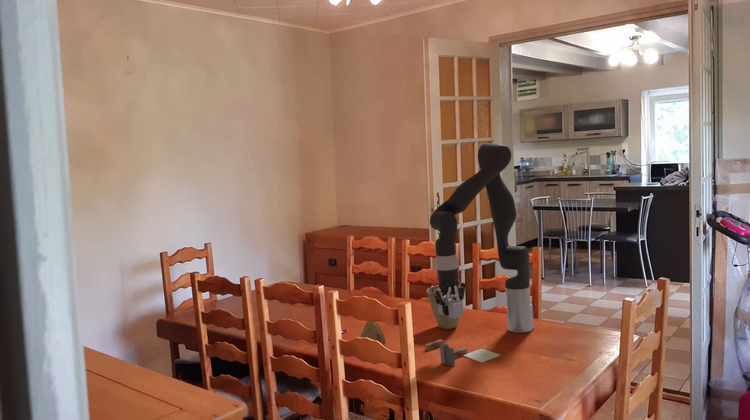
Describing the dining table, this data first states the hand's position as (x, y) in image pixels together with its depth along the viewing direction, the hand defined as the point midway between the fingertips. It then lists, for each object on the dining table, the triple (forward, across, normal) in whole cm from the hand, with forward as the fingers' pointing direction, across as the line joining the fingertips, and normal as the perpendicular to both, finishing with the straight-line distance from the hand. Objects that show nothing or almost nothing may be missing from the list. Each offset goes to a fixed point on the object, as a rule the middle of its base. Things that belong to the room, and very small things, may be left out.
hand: (451, 313), depth 202 cm
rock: (+15, -17, +30) cm, 37 cm away
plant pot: (+15, +18, +26) cm, 35 cm away
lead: (0, 0, 0) cm, 0 cm away
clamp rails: (+15, -1, +4) cm, 15 cm away
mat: (+15, +5, -9) cm, 18 cm away
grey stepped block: (+15, -8, -7) cm, 18 cm away
